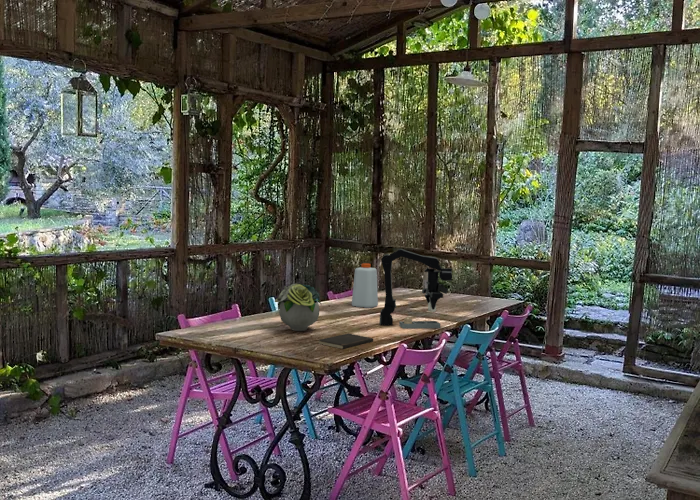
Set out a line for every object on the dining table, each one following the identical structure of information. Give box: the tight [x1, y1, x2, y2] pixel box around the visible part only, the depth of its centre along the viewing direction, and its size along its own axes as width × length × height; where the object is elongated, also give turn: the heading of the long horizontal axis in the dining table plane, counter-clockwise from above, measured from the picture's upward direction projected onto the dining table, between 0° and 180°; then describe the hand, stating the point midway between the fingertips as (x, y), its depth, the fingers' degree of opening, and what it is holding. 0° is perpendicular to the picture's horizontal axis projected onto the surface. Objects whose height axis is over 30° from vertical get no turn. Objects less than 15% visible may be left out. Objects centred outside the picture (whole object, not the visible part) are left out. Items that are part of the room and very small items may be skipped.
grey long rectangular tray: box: [398, 320, 441, 330], centre depth 351 cm, size 21×8×4 cm, turn 103°
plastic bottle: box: [351, 262, 379, 309], centre depth 422 cm, size 15×15×28 cm
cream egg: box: [427, 302, 437, 313], centre depth 351 cm, size 4×4×6 cm
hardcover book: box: [317, 332, 374, 350], centre depth 311 cm, size 16×23×2 cm
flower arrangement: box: [274, 282, 322, 332], centre depth 338 cm, size 25×25×24 cm
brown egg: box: [403, 316, 413, 324], centre depth 349 cm, size 4×4×6 cm
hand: (431, 308), depth 351 cm, fingers closed on cream egg, 4 cm apart
